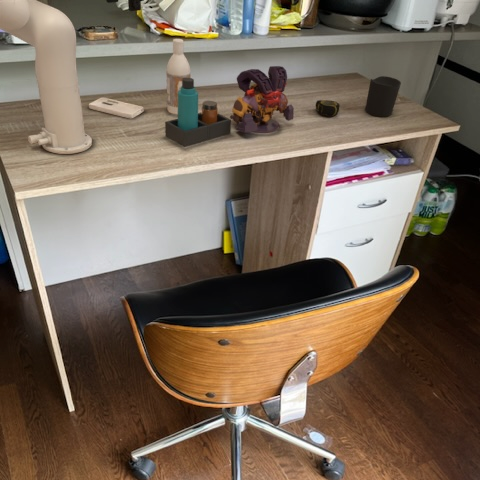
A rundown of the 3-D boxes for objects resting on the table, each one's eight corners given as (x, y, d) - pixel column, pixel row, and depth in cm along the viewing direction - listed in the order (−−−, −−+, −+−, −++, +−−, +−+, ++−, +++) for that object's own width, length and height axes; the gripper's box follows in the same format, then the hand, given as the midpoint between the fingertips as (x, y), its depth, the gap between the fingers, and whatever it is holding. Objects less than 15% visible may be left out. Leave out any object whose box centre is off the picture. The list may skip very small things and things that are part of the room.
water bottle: (186, 142, 142) (186, 84, 132) (173, 136, 145) (173, 78, 135) (201, 138, 145) (202, 80, 135) (189, 131, 148) (189, 74, 138)
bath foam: (174, 117, 157) (173, 44, 144) (163, 109, 161) (161, 37, 148) (194, 114, 160) (195, 42, 147) (183, 106, 164) (183, 35, 151)
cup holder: (184, 149, 141) (184, 132, 138) (165, 138, 145) (165, 121, 142) (230, 135, 150) (231, 119, 147) (210, 125, 154) (211, 109, 151)
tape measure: (335, 111, 171) (337, 99, 168) (339, 118, 166) (342, 106, 163) (314, 110, 170) (316, 98, 168) (318, 118, 165) (320, 105, 162)
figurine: (245, 143, 146) (250, 81, 135) (217, 125, 154) (220, 65, 143) (299, 130, 156) (308, 71, 145) (271, 115, 164) (277, 57, 153)
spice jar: (208, 136, 147) (208, 107, 142) (198, 130, 149) (198, 102, 144) (219, 132, 149) (221, 104, 144) (209, 127, 152) (210, 99, 146)
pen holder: (395, 119, 169) (404, 86, 162) (366, 117, 168) (374, 84, 162) (389, 108, 176) (397, 77, 169) (361, 106, 176) (368, 75, 169)
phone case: (88, 108, 158) (131, 119, 154) (87, 103, 157) (131, 114, 153) (102, 101, 163) (144, 111, 159) (102, 96, 162) (144, 106, 158)
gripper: (82, -86, 120) (91, 0, 131) (125, -77, 111) (130, 15, 122) (111, -86, 124) (117, -3, 135) (154, -77, 115) (157, 12, 126)
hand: (123, 6), depth 129 cm, fingers open, 9 cm apart
